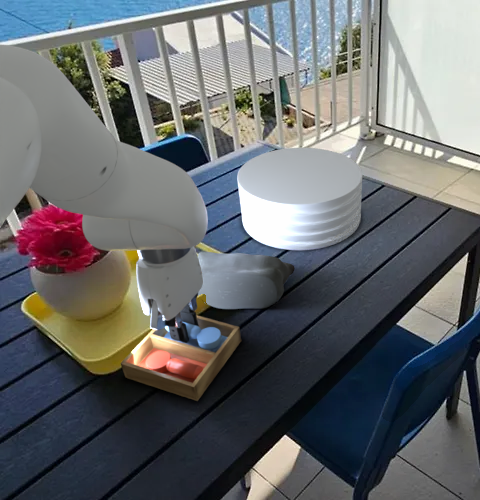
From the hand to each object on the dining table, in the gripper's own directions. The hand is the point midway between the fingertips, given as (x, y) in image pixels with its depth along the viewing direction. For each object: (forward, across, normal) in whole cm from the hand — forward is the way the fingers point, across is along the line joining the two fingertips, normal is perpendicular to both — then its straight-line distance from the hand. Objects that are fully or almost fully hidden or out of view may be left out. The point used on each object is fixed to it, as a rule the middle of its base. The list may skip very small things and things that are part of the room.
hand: (185, 333), depth 84 cm
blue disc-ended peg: (0, 0, +2) cm, 2 cm away
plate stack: (+2, -45, +2) cm, 45 cm away
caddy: (+2, +3, +2) cm, 4 cm away
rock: (+2, -16, +2) cm, 16 cm away
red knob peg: (+2, +6, +2) cm, 7 cm away
